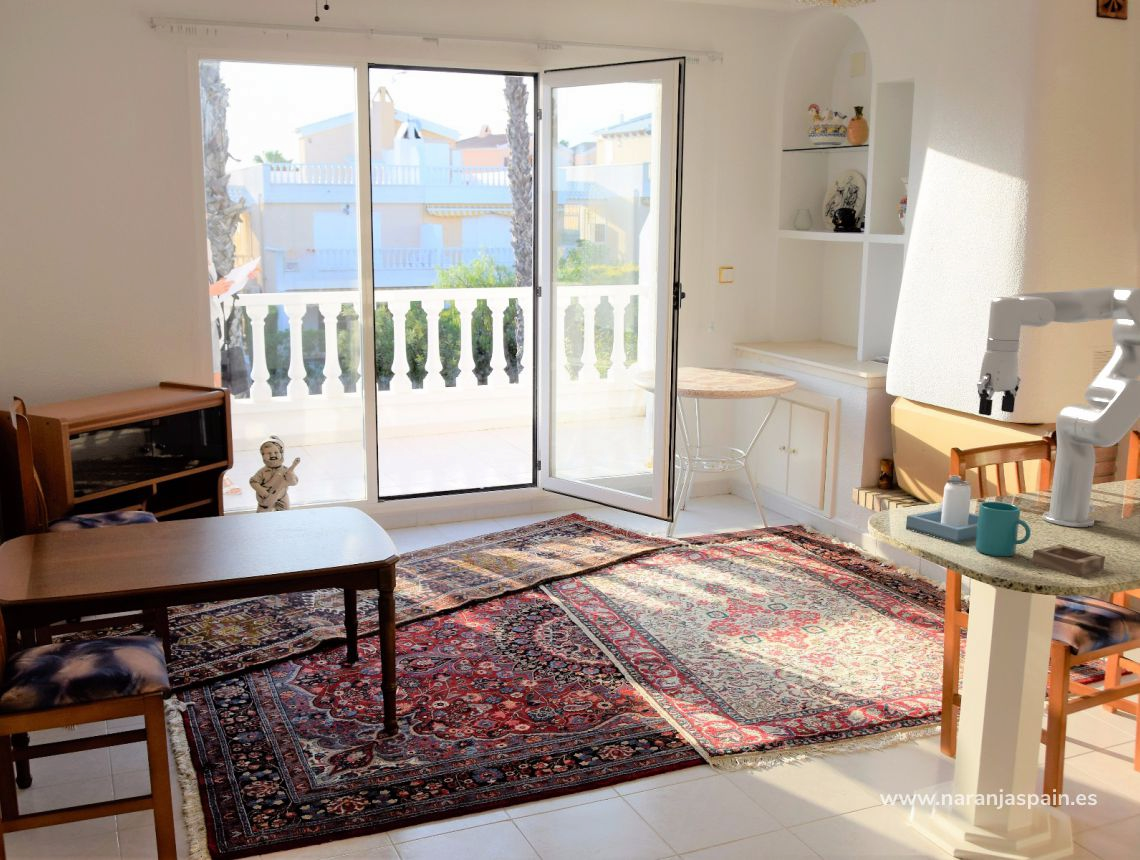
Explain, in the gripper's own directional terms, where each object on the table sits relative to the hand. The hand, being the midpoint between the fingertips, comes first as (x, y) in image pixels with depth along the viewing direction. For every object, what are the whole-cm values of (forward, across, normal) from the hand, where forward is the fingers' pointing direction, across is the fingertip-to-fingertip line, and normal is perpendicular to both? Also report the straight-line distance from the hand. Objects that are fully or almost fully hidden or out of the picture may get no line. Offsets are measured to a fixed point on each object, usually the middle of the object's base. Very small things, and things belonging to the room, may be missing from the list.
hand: (996, 413), depth 274 cm
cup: (+30, +19, +17) cm, 39 cm away
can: (+29, +12, -1) cm, 32 cm away
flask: (+30, -6, -14) cm, 34 cm away
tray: (+30, +12, -1) cm, 32 cm away
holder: (+30, +14, +31) cm, 45 cm away
